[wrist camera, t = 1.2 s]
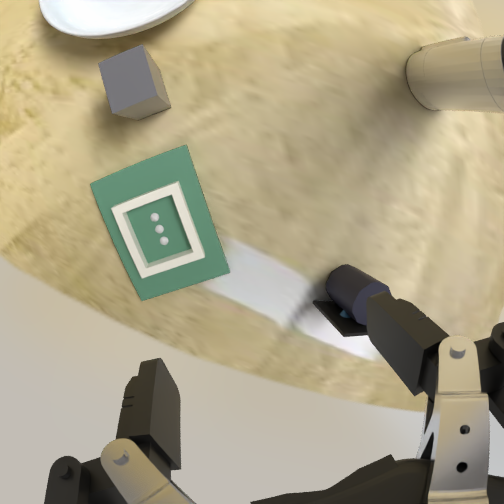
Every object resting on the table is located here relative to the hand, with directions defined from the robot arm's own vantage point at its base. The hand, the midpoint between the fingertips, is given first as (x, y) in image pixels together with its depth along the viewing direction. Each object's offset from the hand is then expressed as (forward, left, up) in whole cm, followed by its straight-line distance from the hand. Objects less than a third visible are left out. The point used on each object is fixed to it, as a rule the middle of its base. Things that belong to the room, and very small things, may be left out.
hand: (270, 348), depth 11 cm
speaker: (+5, +19, -26) cm, 33 cm away
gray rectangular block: (-8, -13, -26) cm, 30 cm away
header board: (+5, -6, -26) cm, 27 cm away
